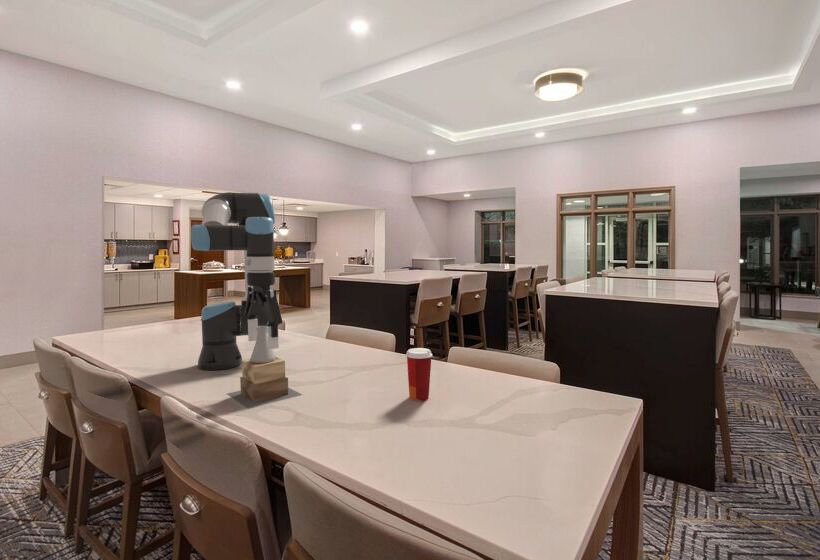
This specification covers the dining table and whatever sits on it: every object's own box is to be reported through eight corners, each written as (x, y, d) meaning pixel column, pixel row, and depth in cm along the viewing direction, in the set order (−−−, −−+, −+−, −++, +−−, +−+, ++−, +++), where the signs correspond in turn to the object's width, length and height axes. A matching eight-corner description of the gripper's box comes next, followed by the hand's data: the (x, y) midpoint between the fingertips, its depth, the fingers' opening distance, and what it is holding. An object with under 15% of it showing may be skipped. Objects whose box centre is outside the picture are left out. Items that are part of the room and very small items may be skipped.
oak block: (242, 377, 127) (241, 360, 126) (271, 371, 133) (271, 355, 132) (255, 384, 120) (254, 366, 120) (285, 377, 126) (284, 360, 126)
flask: (268, 364, 122) (267, 329, 121) (244, 363, 123) (243, 328, 123) (280, 358, 129) (279, 324, 128) (258, 356, 130) (257, 324, 130)
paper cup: (435, 394, 129) (435, 348, 128) (427, 403, 122) (427, 354, 121) (410, 392, 131) (410, 346, 130) (401, 400, 124) (401, 352, 123)
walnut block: (240, 393, 127) (240, 377, 127) (273, 386, 134) (272, 370, 134) (254, 402, 120) (254, 385, 119) (288, 394, 127) (287, 377, 126)
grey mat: (226, 397, 127) (226, 393, 127) (277, 385, 138) (277, 382, 138) (248, 412, 116) (248, 408, 116) (302, 397, 126) (302, 394, 126)
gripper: (231, 270, 131) (233, 339, 132) (267, 274, 112) (269, 354, 114) (255, 269, 136) (257, 335, 138) (293, 273, 118) (295, 349, 119)
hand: (263, 344), depth 126 cm, fingers open, 13 cm apart
